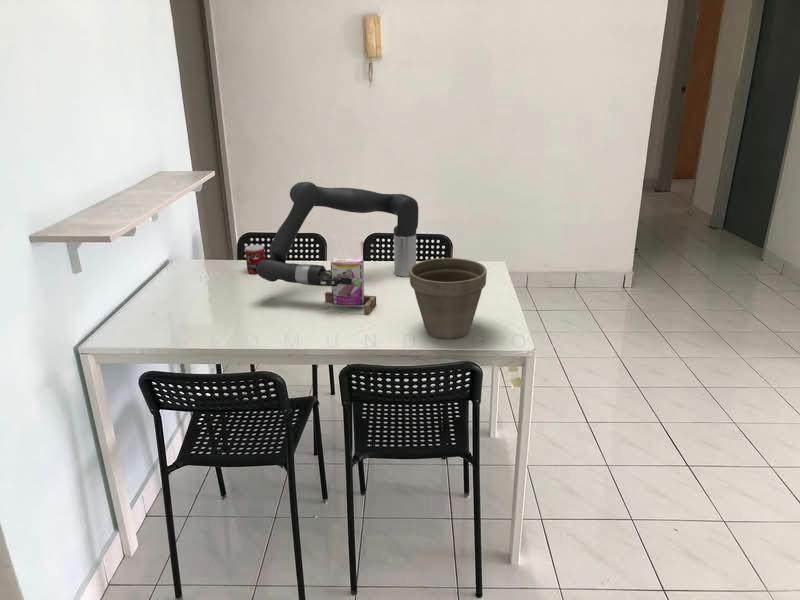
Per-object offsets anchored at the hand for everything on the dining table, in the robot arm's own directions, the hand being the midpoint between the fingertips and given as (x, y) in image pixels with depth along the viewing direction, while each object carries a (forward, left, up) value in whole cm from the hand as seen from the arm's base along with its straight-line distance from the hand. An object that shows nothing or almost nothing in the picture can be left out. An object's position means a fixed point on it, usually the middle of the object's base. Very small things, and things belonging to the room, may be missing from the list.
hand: (354, 278), depth 215 cm
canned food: (-30, -55, -12) cm, 64 cm away
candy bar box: (0, -3, -10) cm, 10 cm away
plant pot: (+10, +36, -12) cm, 39 cm away
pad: (0, -2, -12) cm, 12 cm away
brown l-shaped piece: (-1, -4, -12) cm, 12 cm away
